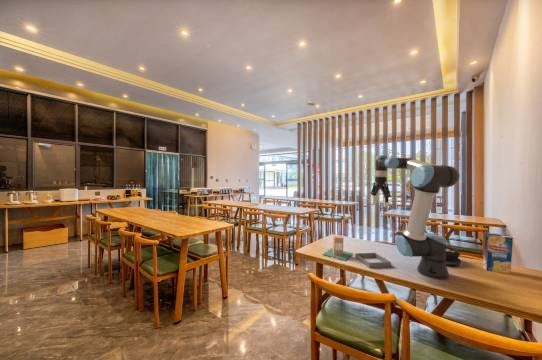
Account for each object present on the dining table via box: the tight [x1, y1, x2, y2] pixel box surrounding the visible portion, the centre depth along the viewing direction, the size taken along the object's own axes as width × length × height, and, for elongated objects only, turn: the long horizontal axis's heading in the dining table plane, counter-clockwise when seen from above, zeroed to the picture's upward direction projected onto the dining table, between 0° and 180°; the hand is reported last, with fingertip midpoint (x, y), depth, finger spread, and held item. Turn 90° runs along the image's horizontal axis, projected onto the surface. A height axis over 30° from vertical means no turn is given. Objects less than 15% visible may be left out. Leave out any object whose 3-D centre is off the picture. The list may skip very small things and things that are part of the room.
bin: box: [354, 252, 392, 269], centre depth 153 cm, size 17×15×3 cm
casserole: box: [445, 246, 462, 266], centre depth 160 cm, size 25×19×8 cm
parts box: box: [332, 235, 344, 255], centre depth 165 cm, size 6×6×12 cm
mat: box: [322, 247, 353, 262], centre depth 166 cm, size 16×16×1 cm
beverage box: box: [482, 232, 514, 275], centre depth 145 cm, size 7×11×22 cm, turn 62°
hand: (379, 205), depth 172 cm, fingers open, 13 cm apart
